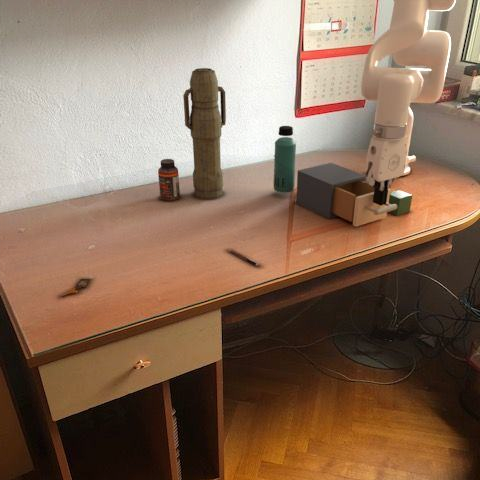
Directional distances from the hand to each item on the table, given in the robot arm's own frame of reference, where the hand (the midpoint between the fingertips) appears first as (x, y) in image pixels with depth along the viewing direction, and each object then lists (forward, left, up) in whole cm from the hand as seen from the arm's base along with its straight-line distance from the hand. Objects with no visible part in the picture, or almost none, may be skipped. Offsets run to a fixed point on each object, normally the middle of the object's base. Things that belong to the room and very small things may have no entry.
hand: (379, 203), depth 139 cm
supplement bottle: (+35, -51, -7) cm, 62 cm away
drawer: (0, -6, -6) cm, 8 cm away
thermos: (+24, -47, -7) cm, 53 cm away
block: (-13, -5, -7) cm, 15 cm away
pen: (+39, -5, -7) cm, 40 cm away
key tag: (+77, -14, -7) cm, 79 cm away
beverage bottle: (+5, -34, -7) cm, 35 cm away
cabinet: (0, -19, -7) cm, 20 cm away
